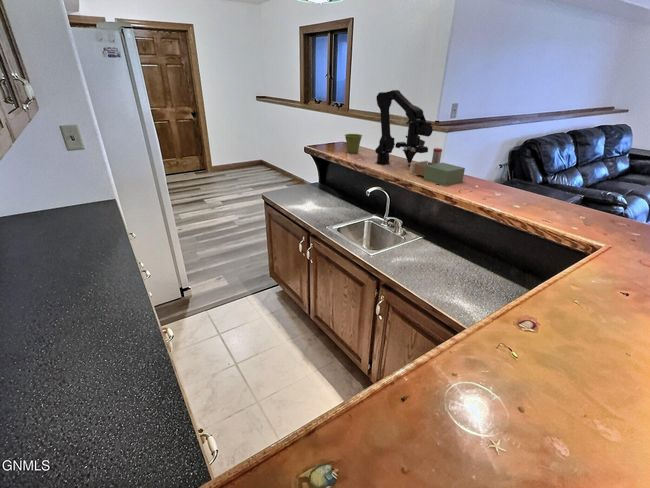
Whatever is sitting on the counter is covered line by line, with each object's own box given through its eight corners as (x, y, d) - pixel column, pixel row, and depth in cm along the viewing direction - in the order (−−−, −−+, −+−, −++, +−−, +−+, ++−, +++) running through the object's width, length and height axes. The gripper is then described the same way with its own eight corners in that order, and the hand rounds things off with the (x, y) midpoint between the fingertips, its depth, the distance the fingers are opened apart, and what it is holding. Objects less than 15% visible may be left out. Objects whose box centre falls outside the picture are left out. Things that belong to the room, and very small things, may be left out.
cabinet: (423, 179, 179) (425, 165, 176) (440, 175, 186) (442, 162, 183) (445, 185, 169) (447, 171, 166) (462, 182, 176) (465, 168, 173)
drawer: (403, 171, 189) (404, 161, 187) (418, 168, 196) (420, 159, 193) (427, 178, 177) (429, 168, 175) (443, 175, 183) (445, 165, 181)
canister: (429, 171, 194) (433, 149, 189) (430, 169, 198) (433, 147, 193) (438, 172, 193) (442, 150, 188) (438, 170, 197) (442, 148, 192)
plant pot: (342, 150, 241) (343, 133, 236) (359, 150, 242) (360, 133, 237) (345, 154, 230) (346, 136, 225) (362, 154, 232) (364, 136, 227)
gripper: (437, 135, 183) (432, 164, 190) (410, 130, 197) (406, 158, 204) (422, 136, 177) (418, 167, 184) (396, 131, 191) (393, 160, 198)
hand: (409, 163), depth 192 cm, fingers closed
